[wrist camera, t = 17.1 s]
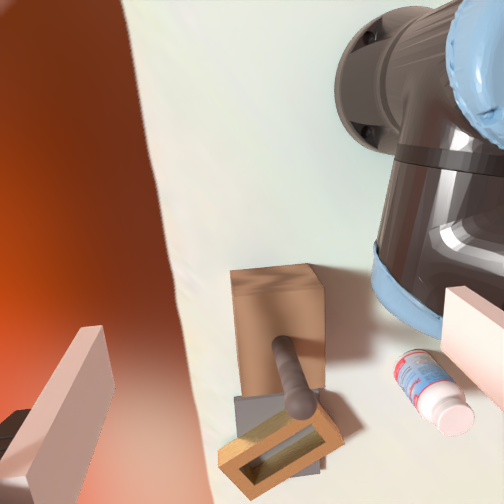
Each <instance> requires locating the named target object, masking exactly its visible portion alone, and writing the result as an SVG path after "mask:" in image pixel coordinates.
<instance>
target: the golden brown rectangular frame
mask: <svg viewBox="0 0 504 504" xmlns="http://www.w3.org/2000/svg"><path fill="white" fill-rule="evenodd" d="M317 403H318V404H317V409H316V412H315V414H314V415H313V416H312V417H311V418H309V419H307V420H302V421H301V420H296V419H294V418H292V417H291V416H290V415H289V414H288V413H287V411H286V409H283V410H282V411H280V412H278V413H277V414H275V415H274V416H272V417H270V418H269V419H267V420H266V421H264V422H262V423H261V424H259V425H258V426H256V427H254V428H253V429H251V430H250V431H248V432H246V433H245V434H243V435H242V436H240V437H238V438H237V439H235V440H234V441H232V442H231V443H229V444H227V445H226V446H224V447H223V448H221V449H219V450H218V468H219V469H220V470H221V471H222V472H223V473H224V474H225V475H226V476H227V477H228V478H229V479H230V480H231V481H232V482H233V483H234V484H235V485H236V486H237V487H238V488H239V489H240V490H241V491H242V492H243V493H244V494H245V496H246V497H247V498H248V499H249V500H250V501H251V500H253V499H255V498H256V497H258V496H260V495H261V494H263V493H265V492H266V491H268V490H270V489H271V488H273V487H275V486H276V485H278V484H279V483H281V482H283V481H284V480H286V479H288V478H289V477H291V476H293V475H294V474H296V473H298V472H299V471H301V470H303V469H304V468H306V467H307V466H309V465H311V464H312V463H314V462H316V461H317V460H319V459H321V458H322V457H324V456H326V455H327V454H329V453H331V452H332V451H334V450H336V449H337V448H339V447H340V446H342V445H344V444H345V443H344V440H343V438H342V435H341V433H340V431H339V428H338V427H337V426H336V424H335V423H334V422H333V421H332V419H331V418H330V417H329V415H328V414H327V413H326V412H325V410H324V409H323V408H322V406H321V405H320V404H319V402H318V401H317ZM310 424H312V426H313V427H314V428H315V429H316V430H314V431H312V432H311V433H309V434H308V435H306V436H304V437H303V438H301V439H299V440H298V441H296V442H295V443H293V444H291V445H290V446H288V447H286V448H285V449H283V450H282V451H280V452H278V453H277V454H275V455H273V456H272V457H270V458H269V459H267V460H265V461H264V462H262V463H260V464H259V465H257V466H256V467H254V468H251V467H250V465H249V464H248V462H250V461H252V460H253V459H255V458H257V457H258V456H260V455H261V454H263V453H265V452H266V451H268V450H270V449H271V448H273V447H274V446H276V445H278V444H279V443H281V442H282V441H284V440H286V439H287V438H289V437H291V436H292V435H294V434H295V433H297V432H299V431H300V430H302V429H304V428H305V427H307V426H308V425H310Z"/></svg>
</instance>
